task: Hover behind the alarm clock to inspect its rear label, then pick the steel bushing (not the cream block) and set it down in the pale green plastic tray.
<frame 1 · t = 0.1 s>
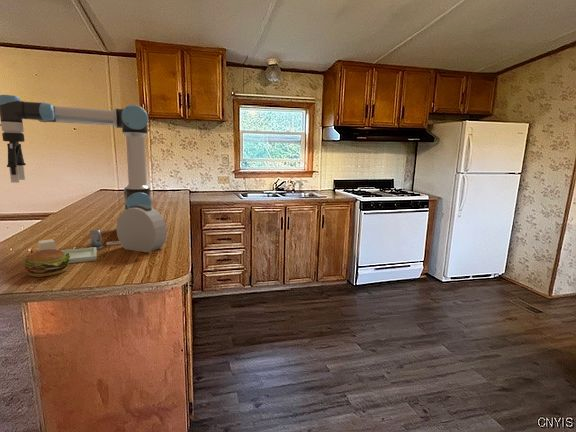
hand: (18, 181, 155), 28 cm above the countertop, fingers open, 13 cm apart
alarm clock: (142, 249, 155), on the countertop
bushing: (96, 248, 154), on the countertop
tray: (76, 257, 140), on the countertop
label tile: (113, 243, 162), on the countertop
cream block: (47, 252, 145), on the countertop
food: (48, 272, 124), on the countertop
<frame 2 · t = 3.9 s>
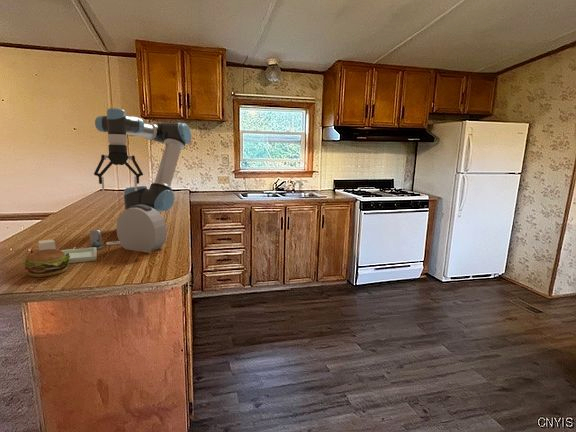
hand: (119, 191, 161), 24 cm above the countertop, fingers open, 13 cm apart
nothing on the countertop moved.
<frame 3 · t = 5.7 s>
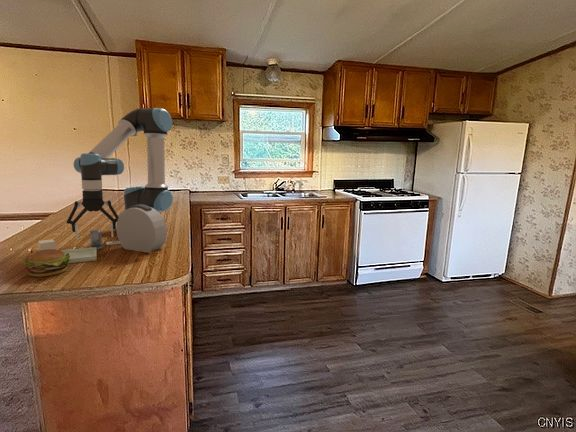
hand: (95, 238, 153), 5 cm above the countertop, fingers open, 13 cm apart
nothing on the countertop moved.
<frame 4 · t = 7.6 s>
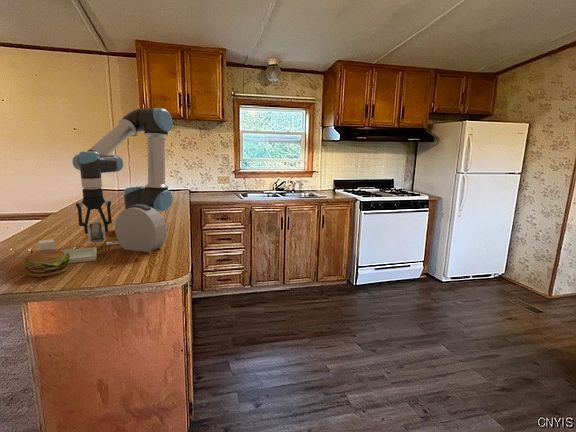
hand: (97, 239, 154), 4 cm above the countertop, fingers closed on bushing, 5 cm apart
bushing: (97, 240, 154), point 3 cm above the countertop, touching gripper
everything else where it was.
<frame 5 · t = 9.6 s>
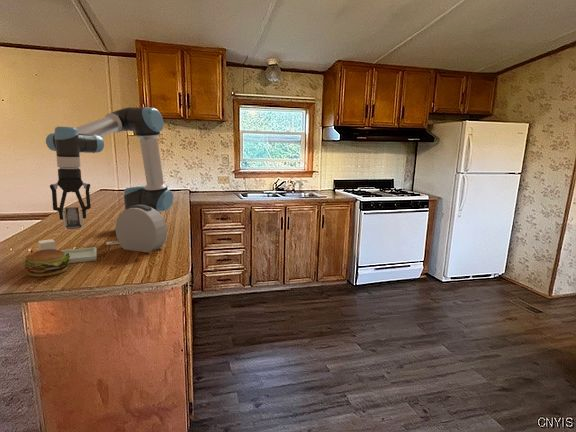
hand: (74, 226, 138), 13 cm above the countertop, fingers closed on bushing, 5 cm apart
bushing: (74, 227, 138), point 12 cm above the countertop, touching gripper
everything else where it was.
when the fingers open (1 cm above the countertop, at t = 11.8 s): bushing stays where it is, resting on tray.
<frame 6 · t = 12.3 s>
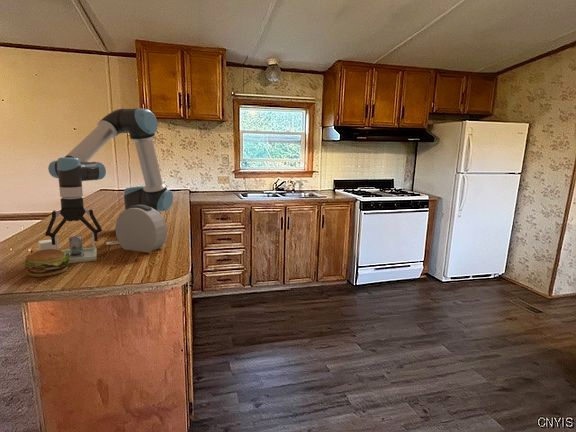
hand: (76, 250, 140), 3 cm above the countertop, fingers open, 12 cm apart
bushing: (76, 256, 140), point 1 cm above the countertop, touching tray
everything else where it was.
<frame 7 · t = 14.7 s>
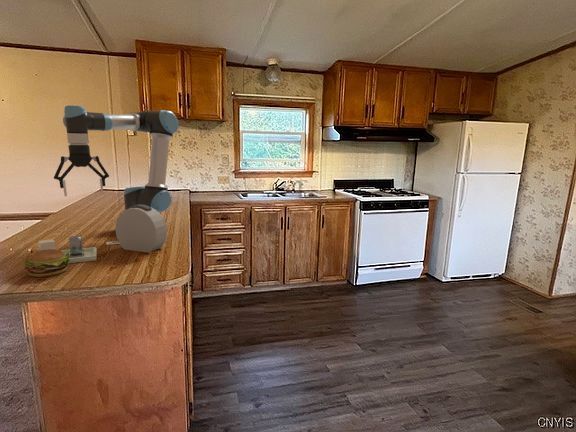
hand: (84, 194, 149), 24 cm above the countertop, fingers open, 13 cm apart
nothing on the countertop moved.
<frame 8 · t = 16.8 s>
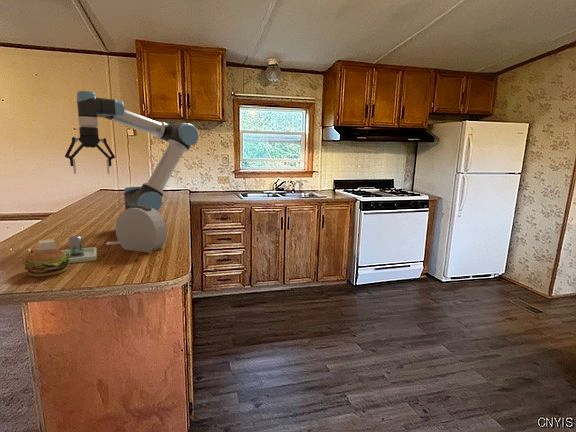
hand: (92, 173, 163), 32 cm above the countertop, fingers open, 13 cm apart
nothing on the countertop moved.
at the end: bushing inside the target area on the tray (0.2 cm from its centre), point 0.6 cm above the tray's base; bushing tilted 0°; the gripper is holding nothing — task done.
